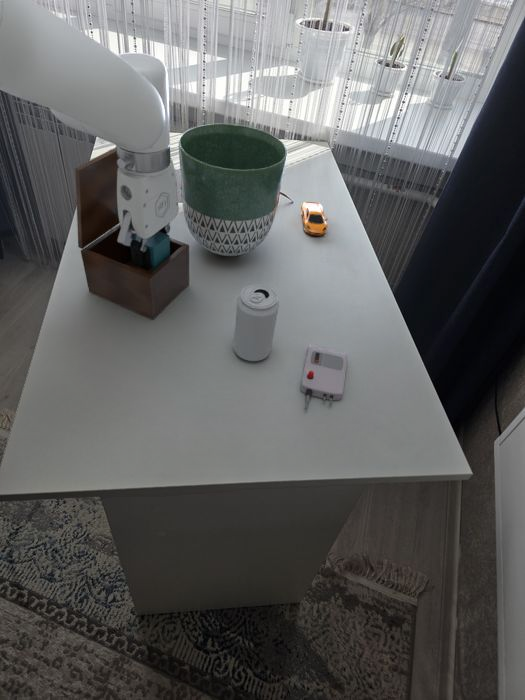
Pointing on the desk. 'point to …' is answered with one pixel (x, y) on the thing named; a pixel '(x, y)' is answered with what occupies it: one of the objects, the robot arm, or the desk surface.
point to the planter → (230, 185)
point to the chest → (134, 275)
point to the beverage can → (255, 322)
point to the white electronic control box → (324, 374)
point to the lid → (96, 197)
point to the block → (157, 248)
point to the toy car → (314, 218)
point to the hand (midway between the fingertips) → (151, 258)
